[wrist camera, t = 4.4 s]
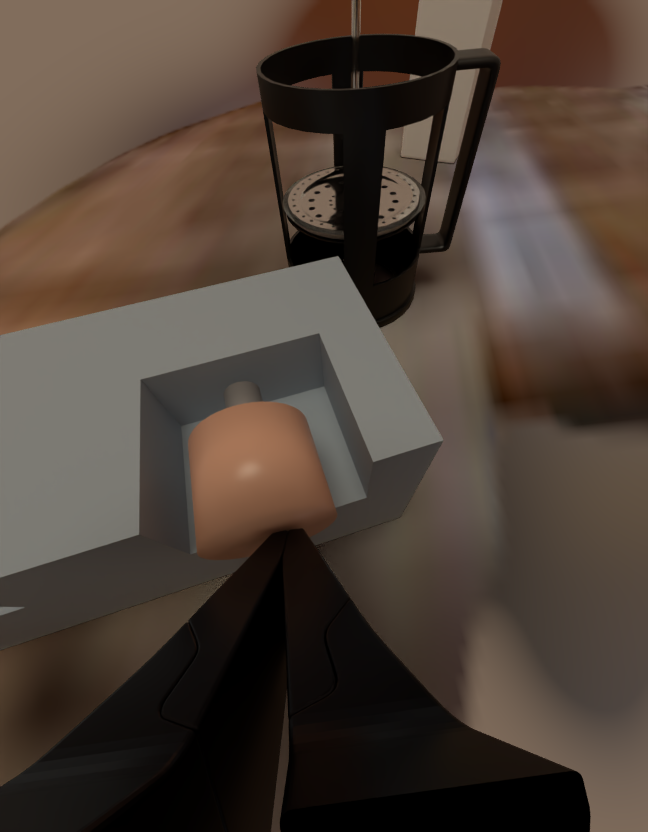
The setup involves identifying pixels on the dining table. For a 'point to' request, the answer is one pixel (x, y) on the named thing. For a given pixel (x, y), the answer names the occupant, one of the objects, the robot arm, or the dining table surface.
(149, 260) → the dining table surface
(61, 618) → the block
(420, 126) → the milk
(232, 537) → the terracotta button
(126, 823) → the robot arm
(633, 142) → the dining table surface
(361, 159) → the french press
